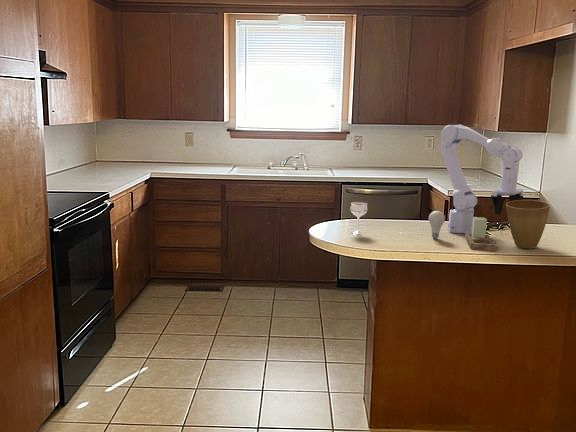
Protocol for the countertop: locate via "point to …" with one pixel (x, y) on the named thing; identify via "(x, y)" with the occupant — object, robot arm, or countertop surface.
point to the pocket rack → (480, 242)
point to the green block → (479, 227)
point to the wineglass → (358, 212)
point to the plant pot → (527, 221)
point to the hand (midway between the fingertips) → (505, 213)
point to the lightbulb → (436, 222)
